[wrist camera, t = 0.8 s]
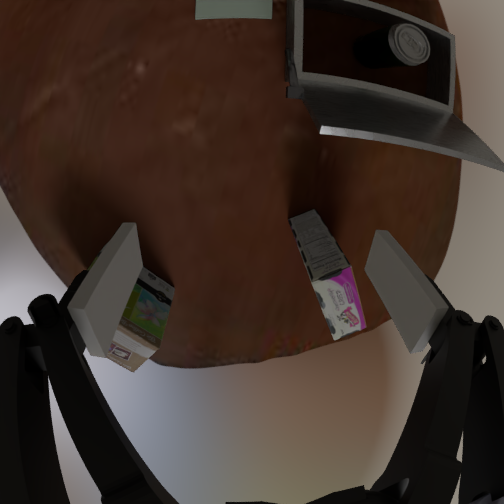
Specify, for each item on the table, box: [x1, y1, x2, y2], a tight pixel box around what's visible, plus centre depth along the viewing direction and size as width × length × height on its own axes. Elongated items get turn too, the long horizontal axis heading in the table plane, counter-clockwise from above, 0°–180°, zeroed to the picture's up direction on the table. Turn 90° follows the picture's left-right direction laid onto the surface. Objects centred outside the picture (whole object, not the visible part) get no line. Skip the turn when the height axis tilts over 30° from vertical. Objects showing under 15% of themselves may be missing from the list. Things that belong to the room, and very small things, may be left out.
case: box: [285, 0, 504, 172], centre depth 23 cm, size 18×25×18 cm
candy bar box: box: [288, 209, 367, 340], centre depth 38 cm, size 11×5×16 cm, turn 25°
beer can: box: [353, 23, 430, 69], centre depth 24 cm, size 5×5×12 cm
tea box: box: [87, 242, 175, 372], centre depth 42 cm, size 15×10×15 cm, turn 47°
